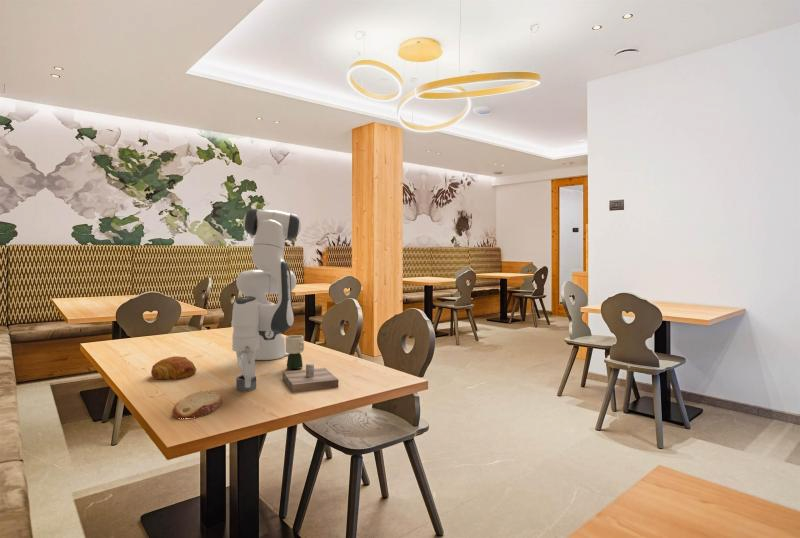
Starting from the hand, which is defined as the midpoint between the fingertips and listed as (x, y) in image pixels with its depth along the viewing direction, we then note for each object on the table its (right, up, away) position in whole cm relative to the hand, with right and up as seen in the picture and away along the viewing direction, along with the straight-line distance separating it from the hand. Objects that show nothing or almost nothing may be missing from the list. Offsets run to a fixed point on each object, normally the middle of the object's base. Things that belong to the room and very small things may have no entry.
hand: (246, 383), depth 163 cm
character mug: (+11, -1, +28) cm, 30 cm away
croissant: (-32, -1, +16) cm, 37 cm away
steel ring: (0, -2, 0) cm, 2 cm away
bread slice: (-9, -3, -19) cm, 21 cm away
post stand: (+20, -1, +8) cm, 22 cm away
